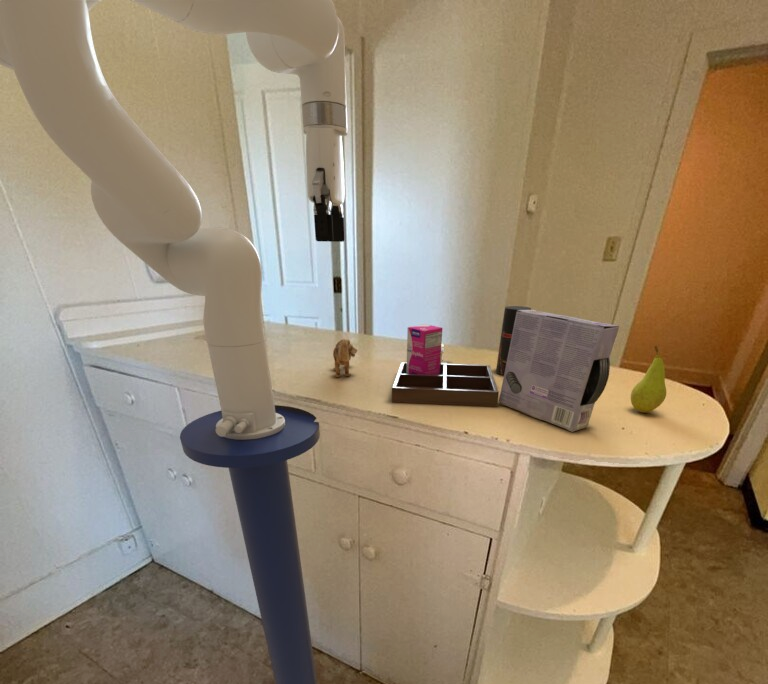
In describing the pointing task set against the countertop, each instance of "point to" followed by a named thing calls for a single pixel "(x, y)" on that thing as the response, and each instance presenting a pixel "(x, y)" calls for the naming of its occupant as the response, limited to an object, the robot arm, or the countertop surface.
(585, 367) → the cake pan box
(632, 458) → the countertop surface
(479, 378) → the grid
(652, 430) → the countertop surface
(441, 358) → the stacked layers on plate
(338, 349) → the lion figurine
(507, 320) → the deodorant
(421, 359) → the supplement box
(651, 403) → the fruit
